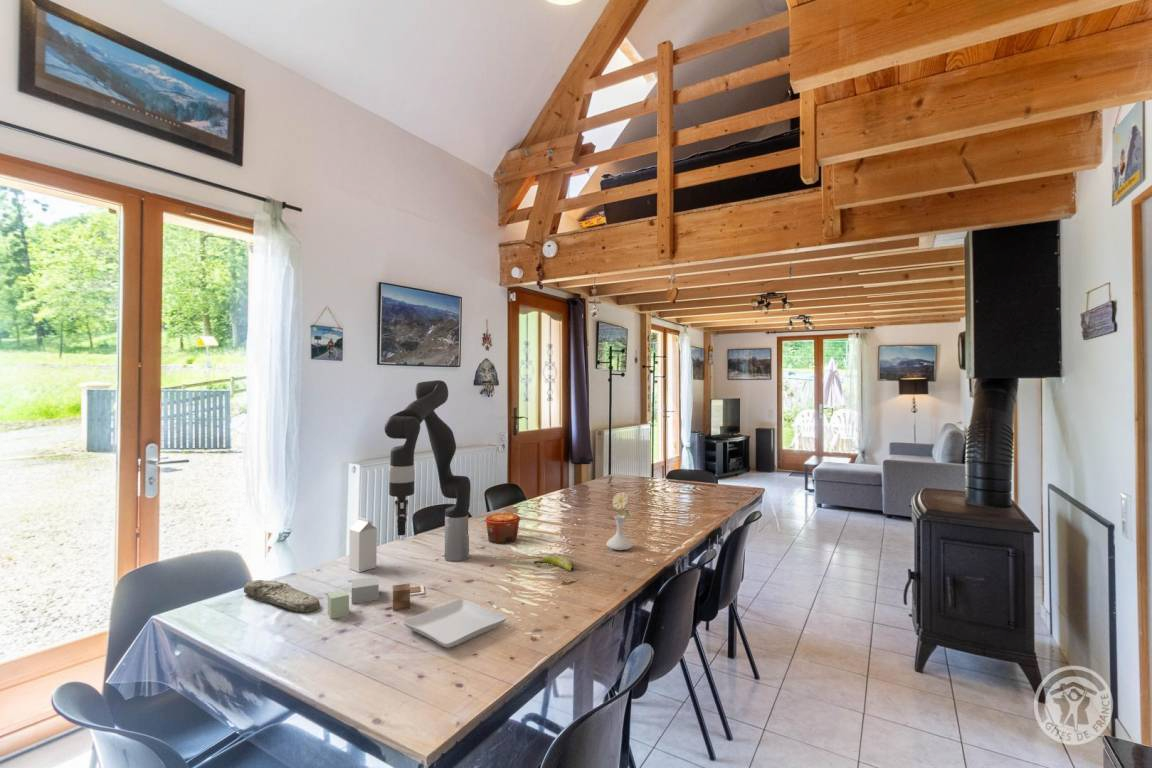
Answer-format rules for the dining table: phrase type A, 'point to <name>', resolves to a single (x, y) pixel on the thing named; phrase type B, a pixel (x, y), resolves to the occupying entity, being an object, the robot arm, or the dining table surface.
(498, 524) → the food container
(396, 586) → the walnut block
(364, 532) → the milk carton
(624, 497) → the flower in vase
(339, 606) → the sage block
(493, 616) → the salad plate
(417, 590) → the swatch
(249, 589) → the long grey stone
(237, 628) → the dining table surface
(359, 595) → the base block
